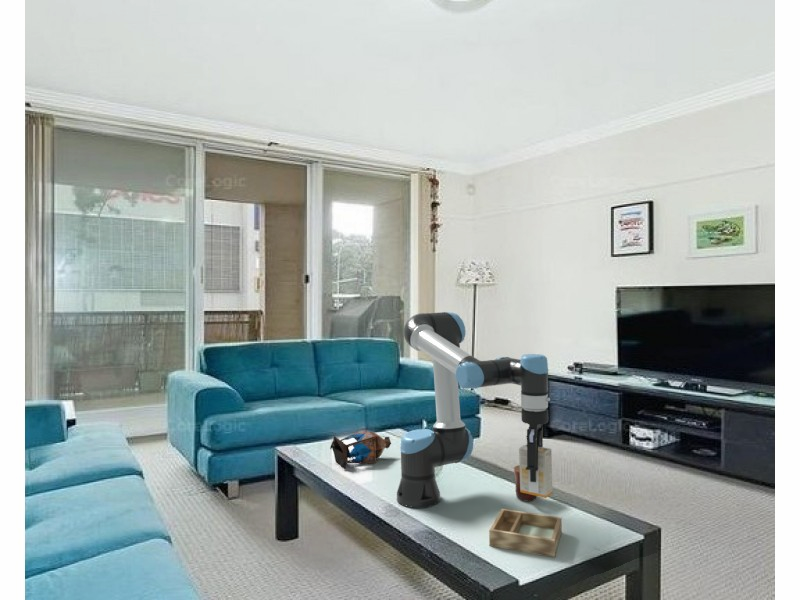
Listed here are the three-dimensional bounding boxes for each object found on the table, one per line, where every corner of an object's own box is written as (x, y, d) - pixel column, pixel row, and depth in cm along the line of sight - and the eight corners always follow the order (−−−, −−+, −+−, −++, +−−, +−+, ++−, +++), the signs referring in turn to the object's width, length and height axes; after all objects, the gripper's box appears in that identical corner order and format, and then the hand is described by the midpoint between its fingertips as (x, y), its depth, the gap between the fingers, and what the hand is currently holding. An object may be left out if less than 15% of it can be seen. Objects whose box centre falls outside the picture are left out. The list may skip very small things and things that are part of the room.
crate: (489, 545, 153) (489, 530, 153) (501, 522, 168) (501, 508, 168) (554, 557, 146) (554, 540, 146) (561, 532, 161) (561, 517, 161)
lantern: (338, 481, 224) (391, 467, 236) (347, 459, 214) (401, 446, 226) (326, 449, 234) (377, 437, 246) (333, 426, 224) (386, 415, 236)
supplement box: (553, 493, 155) (552, 448, 154) (546, 498, 151) (545, 452, 151) (526, 487, 160) (526, 443, 159) (519, 492, 156) (518, 447, 156)
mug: (513, 492, 192) (513, 464, 192) (538, 494, 190) (538, 465, 190) (513, 506, 180) (513, 475, 180) (540, 507, 179) (540, 477, 178)
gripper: (543, 416, 145) (544, 502, 145) (552, 402, 162) (553, 479, 163) (515, 414, 148) (516, 498, 148) (527, 401, 165) (528, 476, 165)
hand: (535, 488), depth 155 cm, fingers closed on supplement box, 6 cm apart
